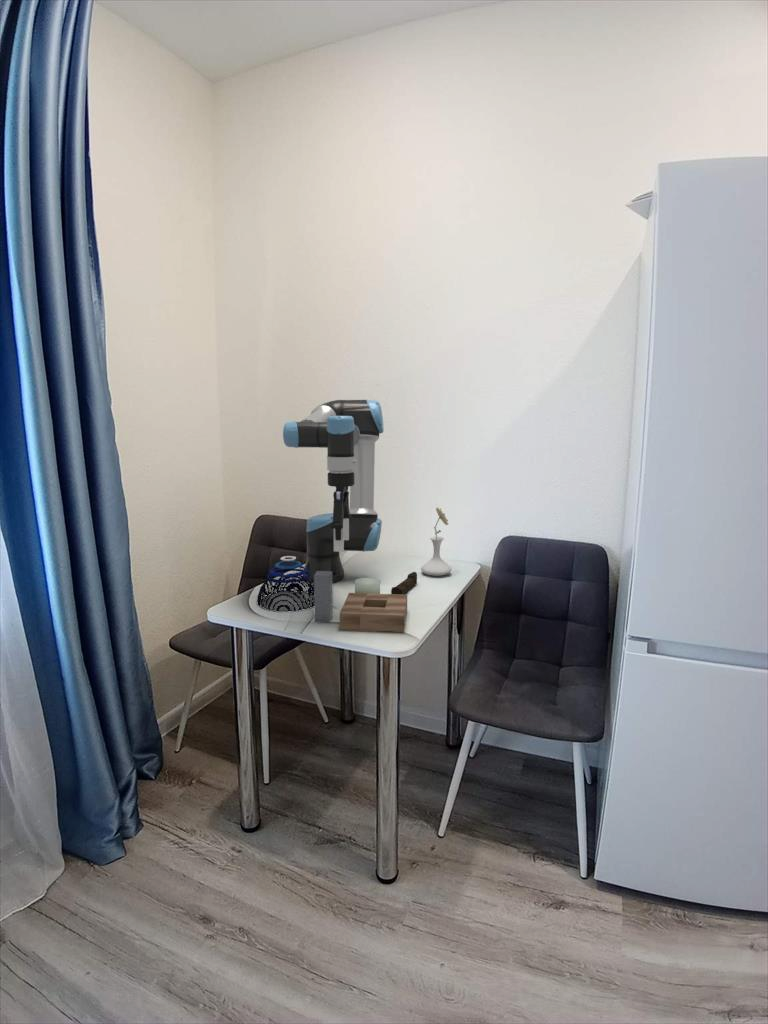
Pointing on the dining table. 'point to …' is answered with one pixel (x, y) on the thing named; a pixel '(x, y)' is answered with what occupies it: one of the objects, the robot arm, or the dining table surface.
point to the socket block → (374, 612)
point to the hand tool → (405, 584)
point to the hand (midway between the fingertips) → (341, 545)
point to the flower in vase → (437, 554)
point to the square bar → (323, 596)
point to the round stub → (367, 585)
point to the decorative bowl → (289, 587)
